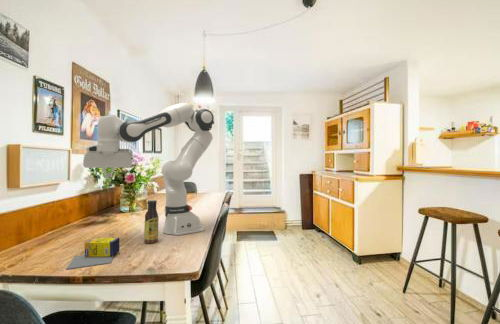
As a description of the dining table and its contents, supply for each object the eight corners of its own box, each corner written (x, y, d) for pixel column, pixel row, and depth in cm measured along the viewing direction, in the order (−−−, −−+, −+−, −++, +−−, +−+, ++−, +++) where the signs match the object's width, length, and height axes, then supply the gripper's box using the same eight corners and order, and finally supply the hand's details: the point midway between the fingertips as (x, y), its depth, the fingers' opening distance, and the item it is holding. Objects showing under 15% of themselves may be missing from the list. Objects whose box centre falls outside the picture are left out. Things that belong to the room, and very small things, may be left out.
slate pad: (114, 252, 102) (114, 251, 102) (110, 263, 91) (110, 262, 91) (75, 257, 96) (75, 256, 96) (65, 269, 85) (65, 268, 85)
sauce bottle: (149, 245, 110) (149, 202, 110) (141, 242, 114) (141, 200, 114) (161, 241, 116) (161, 200, 116) (153, 238, 119) (153, 199, 119)
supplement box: (112, 241, 96) (84, 242, 95) (112, 256, 96) (84, 257, 95) (119, 237, 102) (93, 237, 101) (119, 251, 102) (93, 251, 101)
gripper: (132, 149, 122) (132, 176, 122) (85, 148, 114) (85, 177, 115) (132, 148, 117) (132, 176, 117) (82, 147, 109) (82, 178, 109)
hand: (108, 177), depth 116 cm, fingers closed
